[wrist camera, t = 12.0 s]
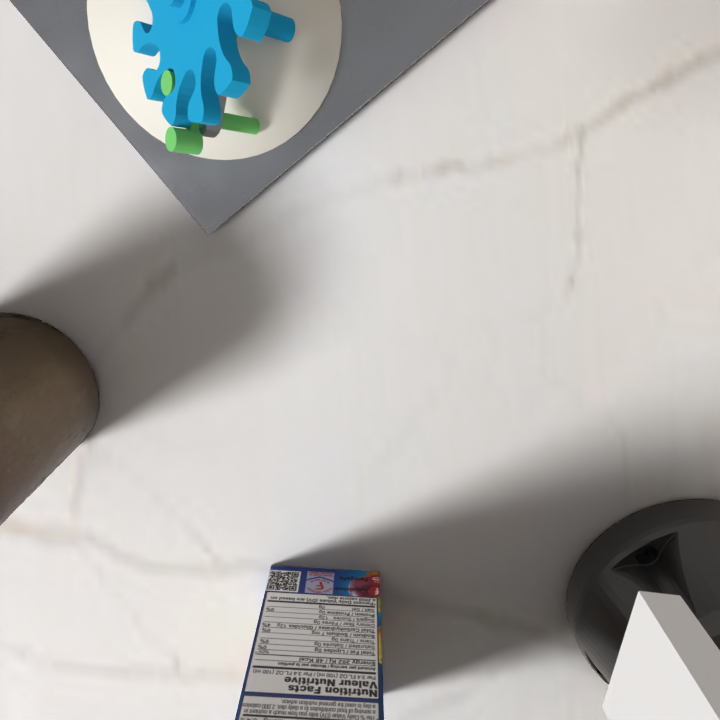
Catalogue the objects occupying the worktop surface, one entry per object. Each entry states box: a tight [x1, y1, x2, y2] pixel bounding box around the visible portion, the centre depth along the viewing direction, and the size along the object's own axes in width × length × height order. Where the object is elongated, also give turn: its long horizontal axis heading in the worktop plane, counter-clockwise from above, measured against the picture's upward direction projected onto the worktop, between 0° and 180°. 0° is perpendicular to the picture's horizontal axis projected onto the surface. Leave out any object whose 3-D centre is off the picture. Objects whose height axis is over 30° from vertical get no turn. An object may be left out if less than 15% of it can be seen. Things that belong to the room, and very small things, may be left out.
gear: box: [133, 0, 295, 155], centre depth 25 cm, size 11×6×10 cm
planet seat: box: [87, 0, 342, 160], centre depth 27 cm, size 12×12×1 cm
